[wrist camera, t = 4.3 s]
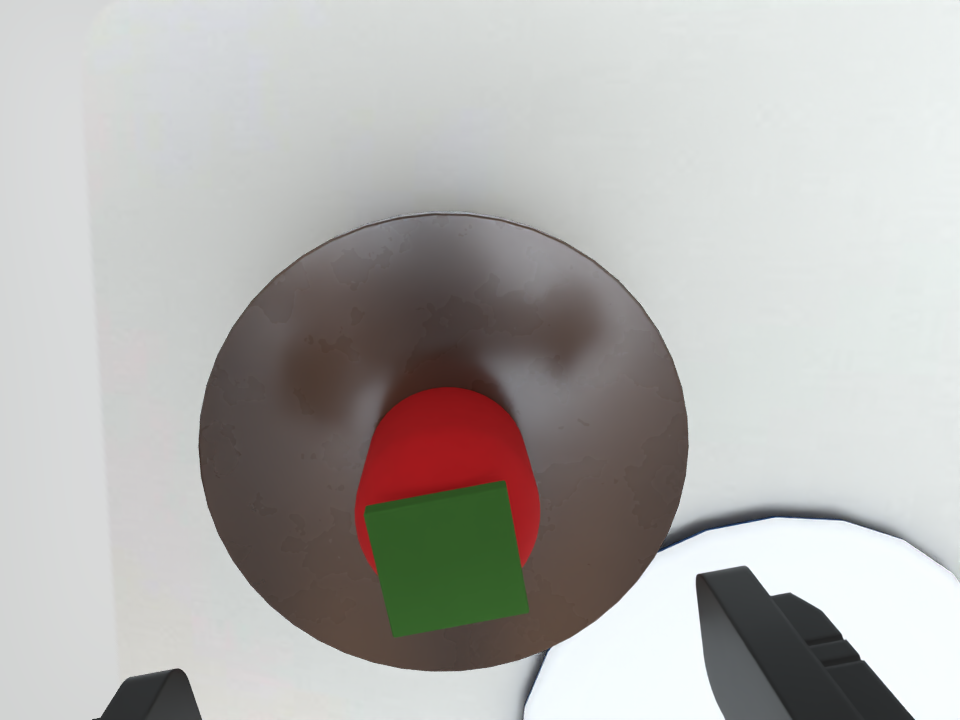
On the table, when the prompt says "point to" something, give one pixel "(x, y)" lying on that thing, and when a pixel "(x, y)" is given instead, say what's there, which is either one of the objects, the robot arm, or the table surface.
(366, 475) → the strawberry
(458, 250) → the stand
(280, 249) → the table surface
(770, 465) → the table surface
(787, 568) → the plate
